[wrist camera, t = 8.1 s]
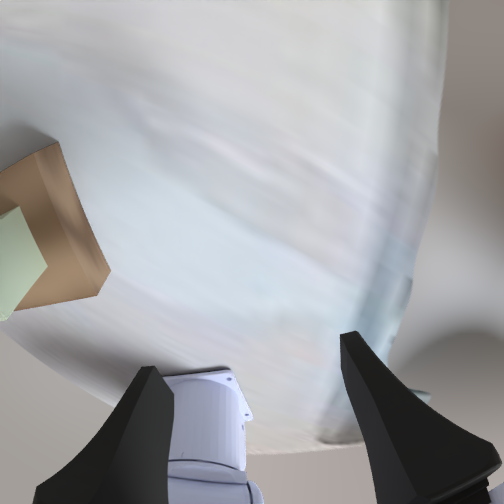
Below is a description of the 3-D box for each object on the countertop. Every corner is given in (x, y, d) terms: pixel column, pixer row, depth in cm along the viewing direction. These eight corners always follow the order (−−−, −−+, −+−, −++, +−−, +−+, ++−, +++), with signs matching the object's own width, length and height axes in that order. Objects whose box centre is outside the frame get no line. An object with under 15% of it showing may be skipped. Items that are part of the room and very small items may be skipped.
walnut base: (111, 270, 21) (96, 295, 18) (25, 290, 22) (9, 311, 19) (58, 142, 16) (33, 153, 13) (-23, 190, 17) (-46, 204, 14)
